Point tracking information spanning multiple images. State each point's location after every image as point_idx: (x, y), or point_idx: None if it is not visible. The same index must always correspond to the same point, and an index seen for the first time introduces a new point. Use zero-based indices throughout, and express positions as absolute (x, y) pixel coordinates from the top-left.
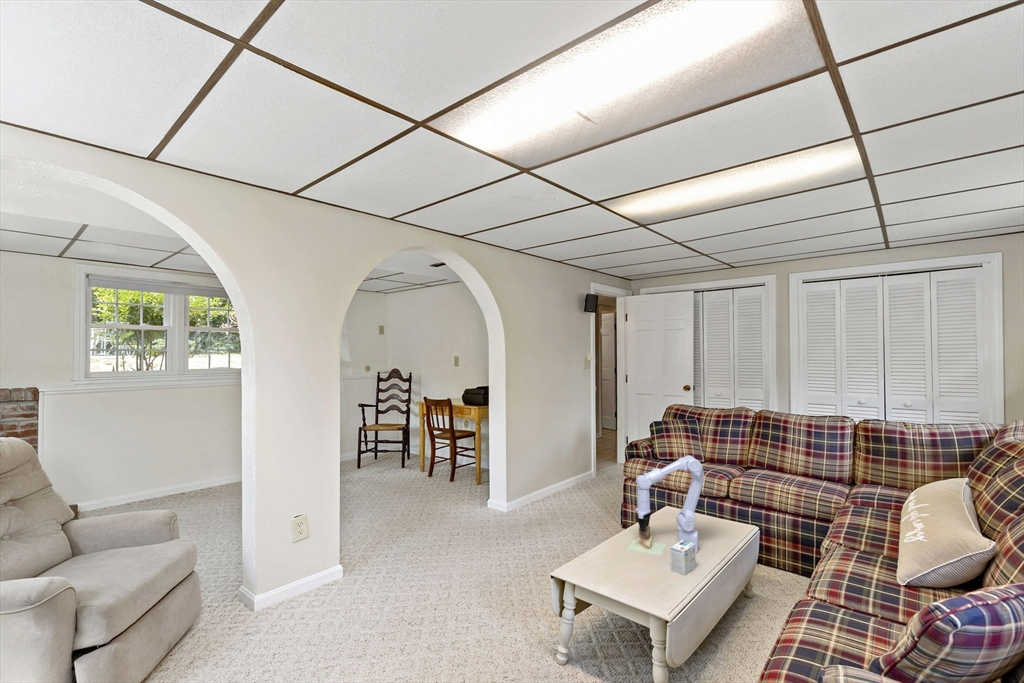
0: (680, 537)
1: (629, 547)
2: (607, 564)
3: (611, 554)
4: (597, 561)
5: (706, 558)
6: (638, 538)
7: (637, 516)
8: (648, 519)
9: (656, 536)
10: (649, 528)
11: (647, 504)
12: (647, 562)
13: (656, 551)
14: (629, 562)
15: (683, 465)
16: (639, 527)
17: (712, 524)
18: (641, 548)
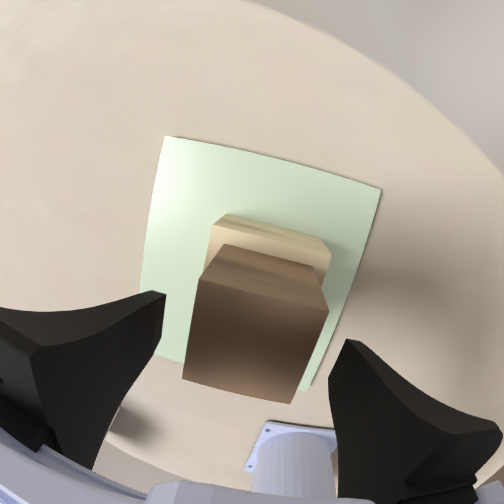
0: (268, 480)
1: (206, 153)
2: (26, 77)
3: (120, 56)
4: (50, 28)
5: (200, 475)
6: (223, 237)
7: (3, 361)
8: (342, 444)
9: (445, 337)
10: (251, 389)
11: None
12: (67, 264)
13: (182, 333)
14: (47, 171)
15: None
16: (227, 289)
17: (479, 470)
18: (205, 242)
